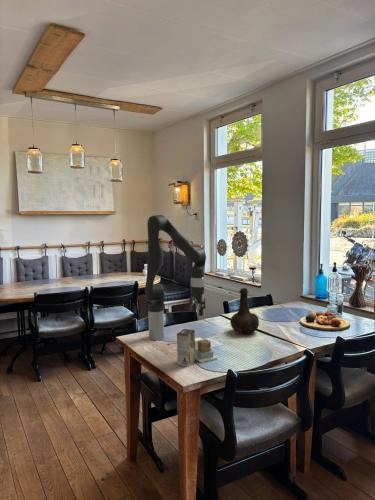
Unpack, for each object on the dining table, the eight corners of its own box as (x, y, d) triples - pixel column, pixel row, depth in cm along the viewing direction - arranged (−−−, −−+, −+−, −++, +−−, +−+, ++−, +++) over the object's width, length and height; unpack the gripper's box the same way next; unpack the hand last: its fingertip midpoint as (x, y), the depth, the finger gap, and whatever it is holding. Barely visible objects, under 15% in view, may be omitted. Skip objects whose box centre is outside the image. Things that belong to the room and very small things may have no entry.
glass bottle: (258, 337, 230) (258, 291, 227) (229, 335, 234) (229, 291, 231) (259, 328, 247) (259, 286, 245) (231, 327, 251) (231, 285, 248)
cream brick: (192, 347, 214) (192, 338, 214) (200, 345, 217) (200, 337, 216) (196, 350, 210) (196, 341, 209) (204, 348, 212) (204, 340, 212)
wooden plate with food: (358, 331, 239) (358, 318, 238) (307, 331, 240) (307, 318, 239) (339, 318, 271) (339, 307, 270) (294, 318, 272) (294, 307, 271)
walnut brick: (197, 349, 199) (197, 340, 198) (206, 348, 201) (206, 339, 201) (202, 352, 194) (202, 343, 194) (210, 351, 197) (210, 341, 196)
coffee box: (184, 358, 198) (183, 328, 196) (195, 360, 195) (195, 329, 194) (177, 365, 189) (176, 333, 188) (189, 366, 187) (188, 335, 185)
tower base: (191, 356, 200) (191, 349, 200) (208, 353, 205) (208, 346, 204) (200, 362, 191) (200, 355, 191) (217, 359, 196) (217, 351, 195)
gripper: (185, 283, 214) (186, 311, 216) (197, 288, 201) (197, 318, 203) (197, 282, 217) (197, 310, 219) (209, 287, 204) (209, 316, 206)
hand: (197, 313), depth 211 cm, fingers open, 8 cm apart
